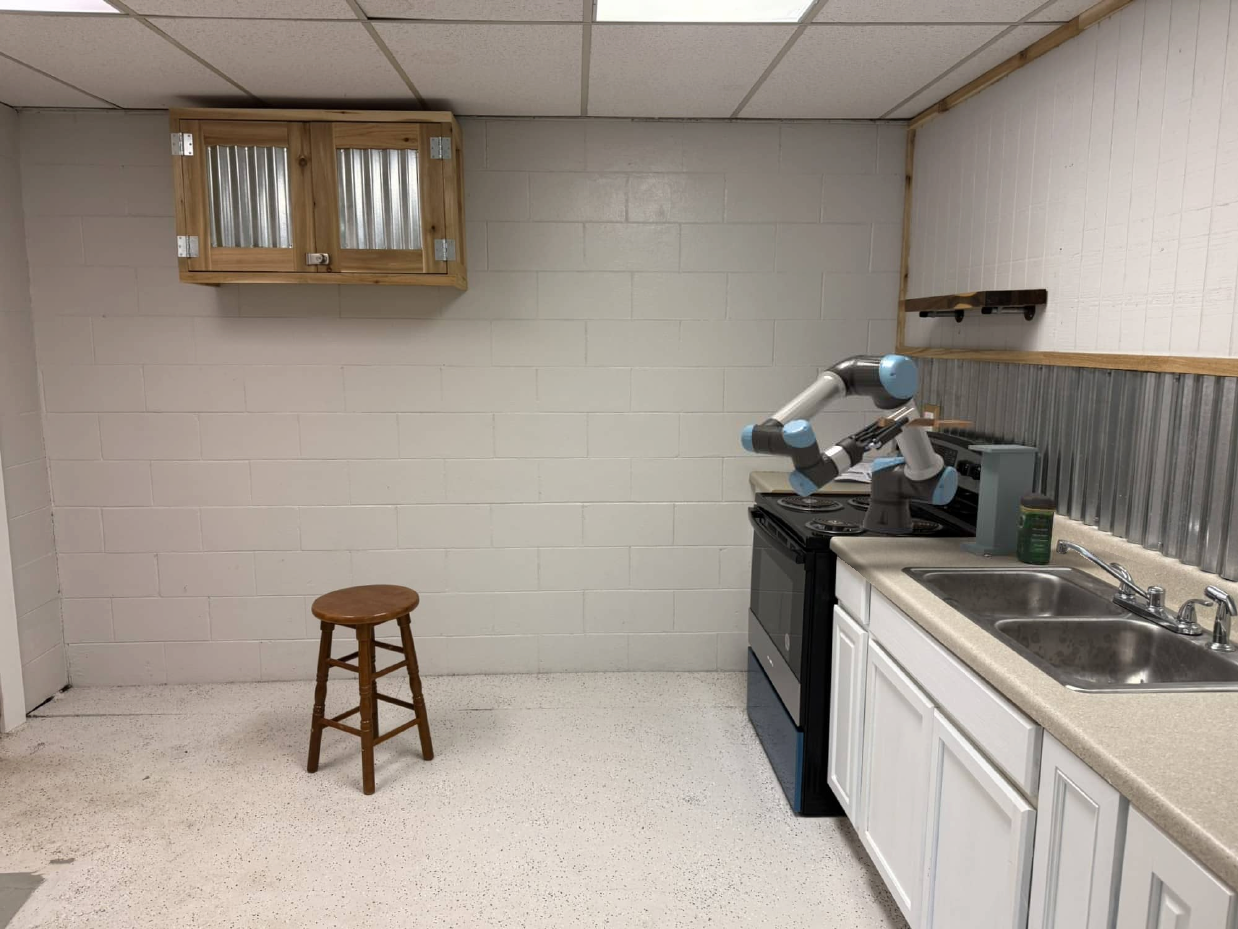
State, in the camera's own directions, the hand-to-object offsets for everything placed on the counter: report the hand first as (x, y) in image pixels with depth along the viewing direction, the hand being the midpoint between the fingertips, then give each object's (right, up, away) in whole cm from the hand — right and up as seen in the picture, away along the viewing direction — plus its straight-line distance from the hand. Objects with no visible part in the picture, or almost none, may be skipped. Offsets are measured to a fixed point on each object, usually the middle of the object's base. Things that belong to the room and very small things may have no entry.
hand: (911, 412), depth 229 cm
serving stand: (+29, -39, +15) cm, 51 cm away
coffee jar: (+34, -41, +4) cm, 53 cm away
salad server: (+4, -4, +2) cm, 6 cm away
